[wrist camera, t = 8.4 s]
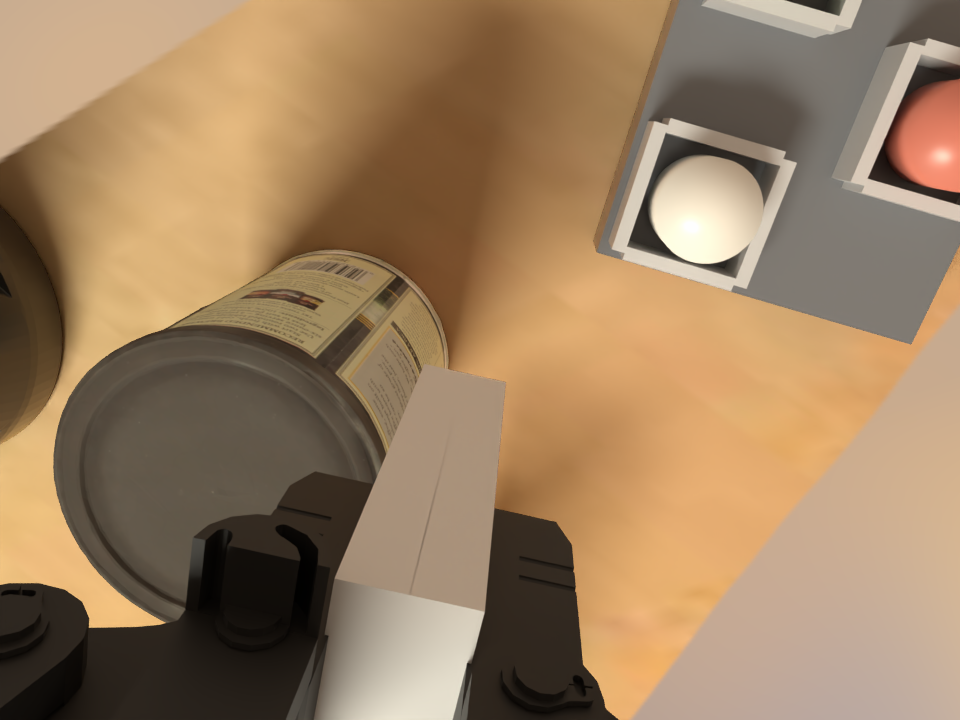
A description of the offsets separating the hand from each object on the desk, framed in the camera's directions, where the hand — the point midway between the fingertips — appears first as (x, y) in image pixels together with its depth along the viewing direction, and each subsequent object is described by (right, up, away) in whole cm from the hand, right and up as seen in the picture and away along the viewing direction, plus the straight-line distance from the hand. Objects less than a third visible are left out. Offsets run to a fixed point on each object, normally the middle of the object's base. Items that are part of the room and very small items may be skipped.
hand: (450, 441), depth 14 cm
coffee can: (-6, +2, +22) cm, 23 cm away
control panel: (+14, +12, +17) cm, 25 cm away
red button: (+17, +9, +13) cm, 23 cm away
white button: (+9, +7, +14) cm, 18 cm away
